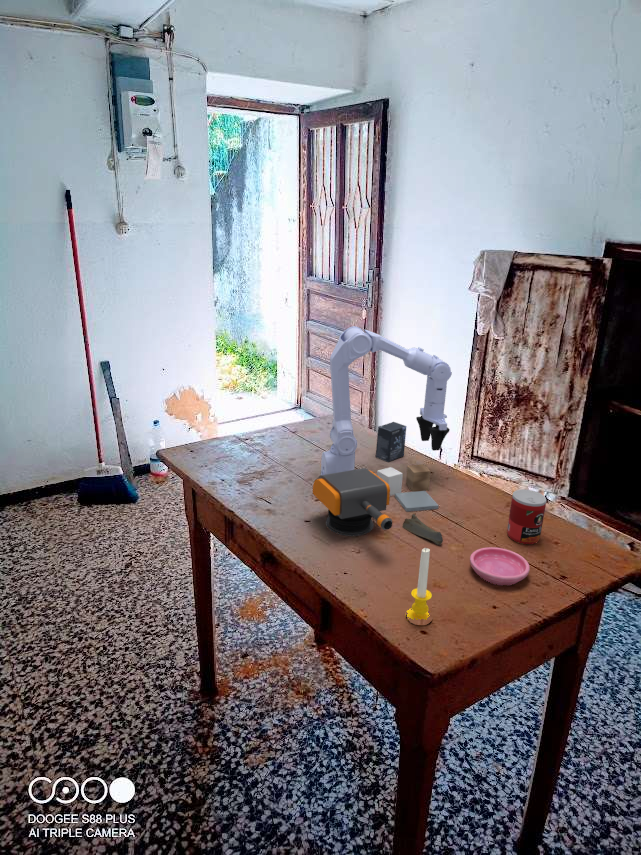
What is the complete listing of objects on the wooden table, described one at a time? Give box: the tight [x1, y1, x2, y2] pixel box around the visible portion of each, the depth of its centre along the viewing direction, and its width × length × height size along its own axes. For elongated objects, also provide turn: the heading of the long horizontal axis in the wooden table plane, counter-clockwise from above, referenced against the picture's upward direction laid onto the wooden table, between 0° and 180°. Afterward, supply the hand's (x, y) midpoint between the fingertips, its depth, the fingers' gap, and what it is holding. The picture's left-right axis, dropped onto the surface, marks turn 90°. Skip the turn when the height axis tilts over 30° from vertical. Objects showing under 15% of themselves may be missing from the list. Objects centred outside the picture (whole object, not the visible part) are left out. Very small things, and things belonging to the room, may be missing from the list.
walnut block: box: [405, 464, 431, 492], centre depth 169 cm, size 5×5×6 cm
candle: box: [406, 547, 433, 620], centre depth 112 cm, size 5×5×16 cm
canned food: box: [506, 489, 547, 545], centre depth 143 cm, size 8×8×11 cm
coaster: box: [394, 491, 439, 513], centre depth 160 cm, size 9×9×1 cm
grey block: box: [376, 466, 403, 497], centre depth 166 cm, size 5×5×6 cm
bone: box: [402, 513, 444, 546], centre depth 144 cm, size 13×5×4 cm, turn 25°
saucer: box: [469, 546, 531, 586], centre depth 129 cm, size 12×12×3 cm
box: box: [375, 421, 408, 463], centre depth 189 cm, size 8×6×11 cm
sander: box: [312, 467, 393, 537], centre depth 142 cm, size 15×25×13 cm, turn 25°
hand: (430, 445), depth 174 cm, fingers open, 7 cm apart
